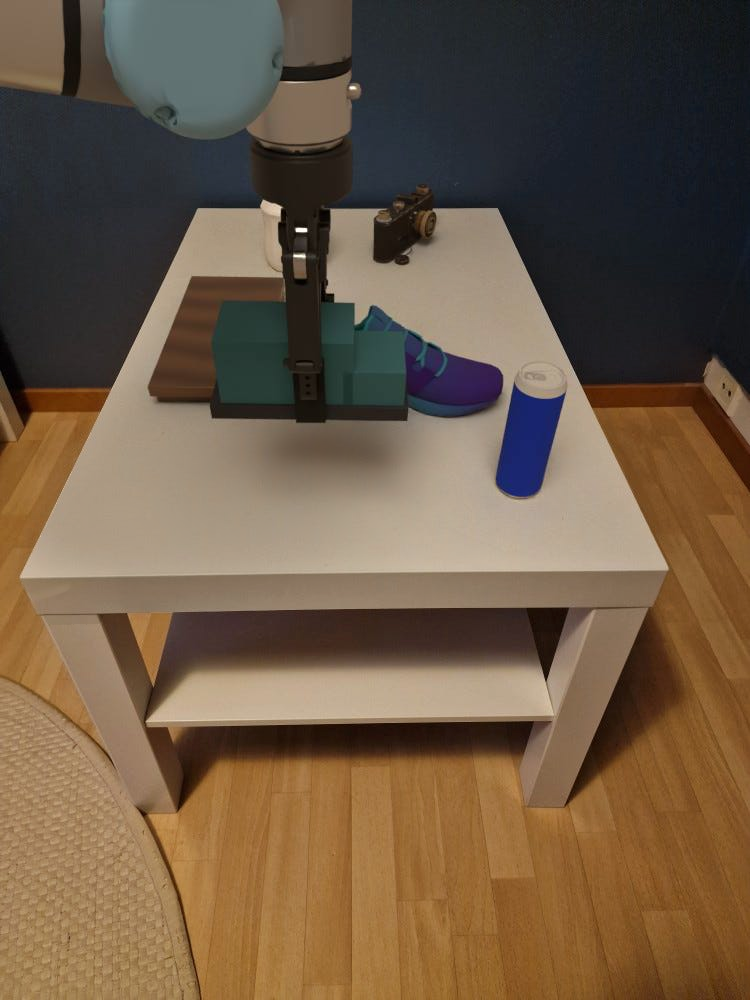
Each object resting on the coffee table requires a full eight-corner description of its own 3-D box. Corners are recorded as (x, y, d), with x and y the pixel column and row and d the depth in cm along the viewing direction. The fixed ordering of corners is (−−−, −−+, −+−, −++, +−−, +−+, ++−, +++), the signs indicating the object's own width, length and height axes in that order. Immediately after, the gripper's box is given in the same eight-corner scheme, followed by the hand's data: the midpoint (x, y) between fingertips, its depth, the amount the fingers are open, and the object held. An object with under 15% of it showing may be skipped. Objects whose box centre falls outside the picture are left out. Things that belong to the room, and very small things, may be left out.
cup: (336, 269, 112) (334, 209, 105) (278, 281, 109) (272, 220, 102) (315, 244, 118) (312, 186, 111) (259, 255, 115) (253, 196, 108)
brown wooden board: (194, 293, 106) (191, 275, 104) (285, 295, 106) (284, 277, 104) (152, 406, 87) (147, 386, 84) (263, 407, 87) (261, 388, 84)
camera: (401, 270, 112) (403, 221, 107) (367, 259, 115) (367, 211, 109) (448, 232, 122) (453, 186, 116) (416, 223, 125) (418, 178, 119)
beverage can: (537, 469, 79) (564, 359, 69) (543, 501, 76) (574, 391, 65) (492, 468, 79) (512, 358, 69) (497, 500, 76) (519, 389, 65)
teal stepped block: (211, 418, 63) (197, 343, 57) (223, 371, 68) (212, 297, 63) (407, 421, 63) (413, 347, 58) (404, 374, 69) (409, 301, 63)
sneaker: (498, 424, 85) (513, 340, 76) (292, 401, 88) (284, 317, 79) (501, 377, 92) (515, 294, 83) (310, 356, 95) (305, 275, 86)
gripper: (350, 192, 42) (351, 466, 59) (354, 93, 57) (354, 335, 73) (228, 190, 42) (263, 465, 58) (262, 91, 56) (283, 334, 73)
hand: (313, 393), depth 66 cm, fingers closed on teal stepped block, 7 cm apart
